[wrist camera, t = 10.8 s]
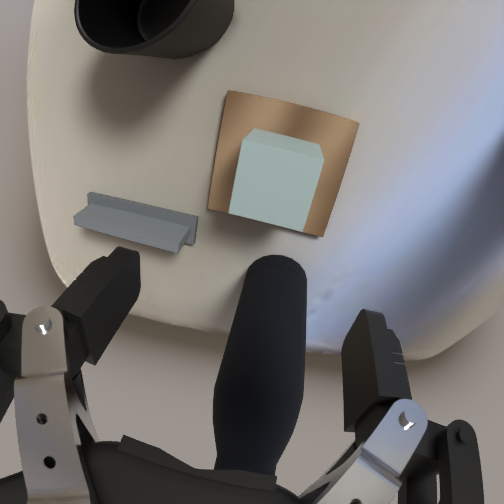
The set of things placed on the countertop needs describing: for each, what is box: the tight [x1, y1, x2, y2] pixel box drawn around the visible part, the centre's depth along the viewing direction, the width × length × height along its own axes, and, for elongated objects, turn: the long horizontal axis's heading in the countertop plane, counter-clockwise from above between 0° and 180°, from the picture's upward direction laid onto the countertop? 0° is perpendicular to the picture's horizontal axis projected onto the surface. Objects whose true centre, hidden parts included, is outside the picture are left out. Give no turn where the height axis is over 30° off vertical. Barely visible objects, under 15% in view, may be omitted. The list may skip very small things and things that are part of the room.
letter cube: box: [229, 128, 324, 232], centre depth 23 cm, size 6×6×6 cm
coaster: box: [208, 91, 359, 237], centre depth 26 cm, size 11×11×1 cm
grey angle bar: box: [73, 192, 198, 253], centre depth 29 cm, size 13×3×4 cm, turn 78°
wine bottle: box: [213, 255, 307, 476], centre depth 20 cm, size 6×6×30 cm
